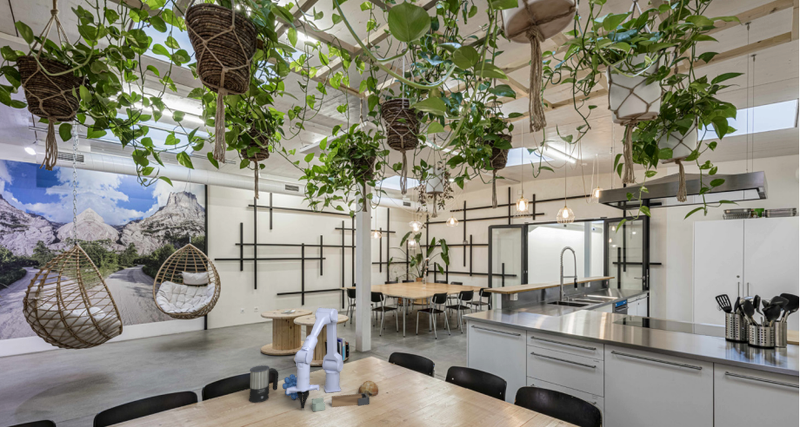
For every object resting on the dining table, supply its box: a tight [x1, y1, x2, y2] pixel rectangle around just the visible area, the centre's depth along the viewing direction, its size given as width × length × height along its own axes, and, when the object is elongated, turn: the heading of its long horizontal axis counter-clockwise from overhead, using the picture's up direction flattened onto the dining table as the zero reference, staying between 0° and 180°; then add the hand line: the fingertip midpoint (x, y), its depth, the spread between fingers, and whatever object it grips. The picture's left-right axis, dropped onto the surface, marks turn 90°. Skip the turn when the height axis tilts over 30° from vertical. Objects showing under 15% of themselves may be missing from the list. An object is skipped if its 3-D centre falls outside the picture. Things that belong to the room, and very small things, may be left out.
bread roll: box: [358, 380, 379, 398], centre depth 190 cm, size 10×10×8 cm
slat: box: [331, 393, 362, 408], centre depth 177 cm, size 4×14×4 cm, turn 103°
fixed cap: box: [357, 393, 370, 407], centre depth 179 cm, size 7×5×3 cm
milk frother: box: [248, 364, 279, 404], centre depth 187 cm, size 14×16×15 cm
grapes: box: [282, 373, 299, 400], centre depth 182 cm, size 12×7×12 cm, turn 95°
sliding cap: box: [311, 397, 326, 412], centre depth 173 cm, size 7×5×3 cm
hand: (302, 407), depth 170 cm, fingers closed
